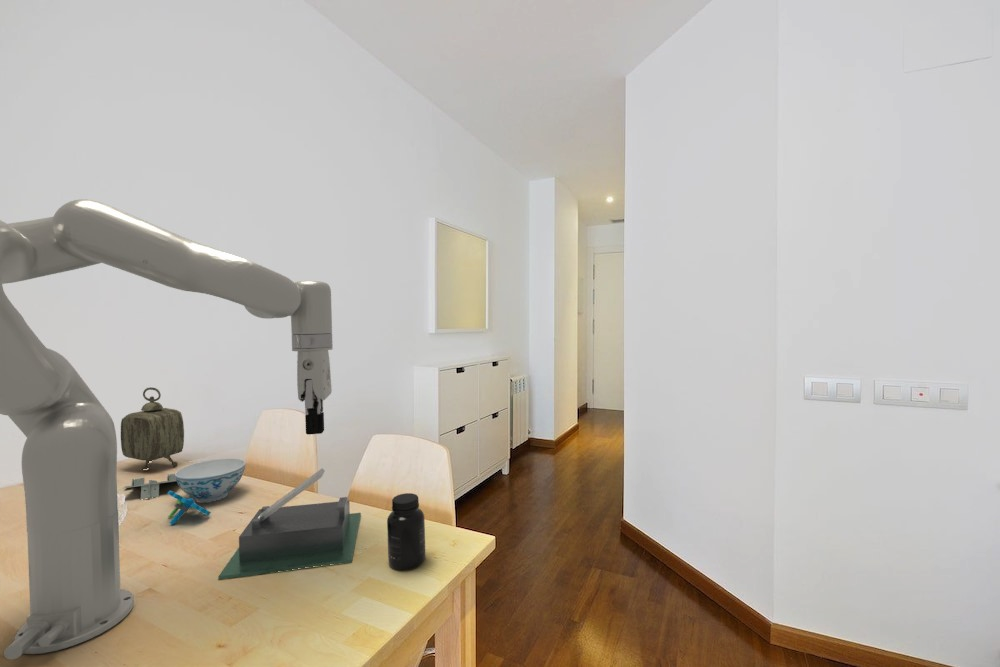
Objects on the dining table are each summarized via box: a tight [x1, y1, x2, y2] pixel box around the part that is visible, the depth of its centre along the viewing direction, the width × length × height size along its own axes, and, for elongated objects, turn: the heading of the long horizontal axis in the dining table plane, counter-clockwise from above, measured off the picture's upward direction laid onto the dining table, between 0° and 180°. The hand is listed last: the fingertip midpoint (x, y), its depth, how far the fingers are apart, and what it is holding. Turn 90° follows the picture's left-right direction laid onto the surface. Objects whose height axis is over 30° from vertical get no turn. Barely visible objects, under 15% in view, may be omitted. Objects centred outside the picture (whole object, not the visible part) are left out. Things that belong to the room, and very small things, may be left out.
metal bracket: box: [123, 473, 177, 500], centre depth 114 cm, size 14×6×15 cm
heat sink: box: [217, 496, 362, 580], centre depth 86 cm, size 20×22×8 cm
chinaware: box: [174, 457, 246, 503], centre depth 109 cm, size 15×15×8 cm
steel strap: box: [257, 467, 326, 522], centre depth 86 cm, size 4×14×1 cm
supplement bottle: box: [386, 493, 426, 572], centre depth 79 cm, size 7×7×12 cm
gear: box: [167, 490, 211, 526], centre depth 96 cm, size 11×6×10 cm
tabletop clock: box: [120, 387, 185, 470], centre depth 131 cm, size 14×9×25 cm, turn 74°
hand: (315, 432), depth 87 cm, fingers closed
